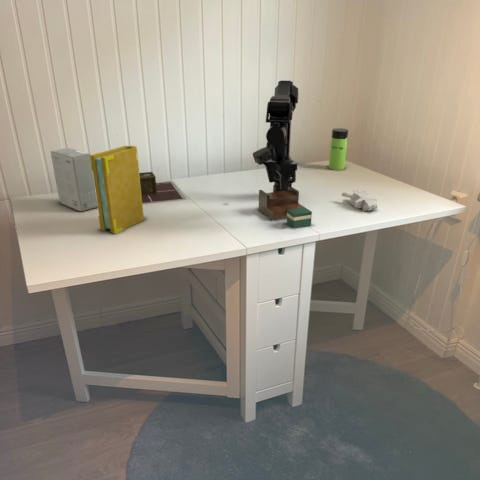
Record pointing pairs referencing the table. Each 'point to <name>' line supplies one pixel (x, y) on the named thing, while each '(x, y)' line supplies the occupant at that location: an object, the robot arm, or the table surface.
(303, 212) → the tea packet
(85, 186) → the hard drive box
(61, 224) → the table surface
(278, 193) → the step shelf
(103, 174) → the book
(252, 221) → the table surface
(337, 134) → the tumbler
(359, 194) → the bunny figurine
